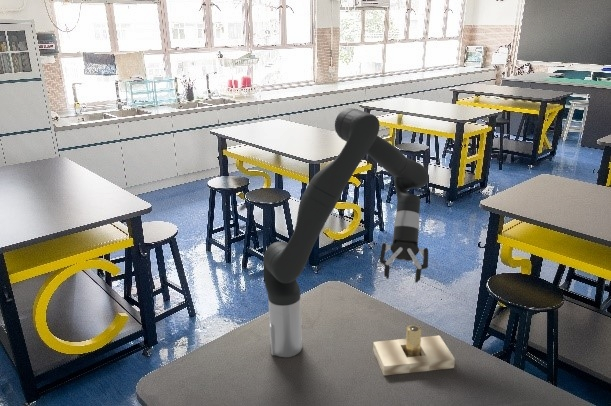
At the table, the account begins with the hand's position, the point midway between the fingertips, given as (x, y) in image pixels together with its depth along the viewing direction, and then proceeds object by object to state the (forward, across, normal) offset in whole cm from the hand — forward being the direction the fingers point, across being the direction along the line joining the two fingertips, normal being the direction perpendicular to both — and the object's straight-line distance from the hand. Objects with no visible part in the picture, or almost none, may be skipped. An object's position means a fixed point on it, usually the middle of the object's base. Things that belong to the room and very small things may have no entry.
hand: (401, 280), depth 145 cm
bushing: (+22, +5, 0) cm, 22 cm away
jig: (+22, +5, 0) cm, 22 cm away
